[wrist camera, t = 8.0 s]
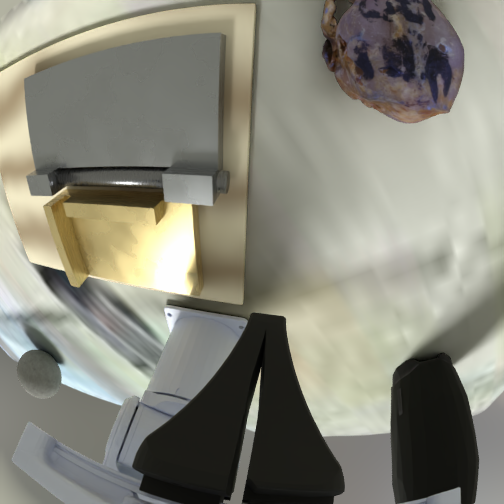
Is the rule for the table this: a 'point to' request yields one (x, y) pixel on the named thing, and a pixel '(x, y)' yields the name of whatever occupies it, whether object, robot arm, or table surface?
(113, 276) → the loose leaf
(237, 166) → the board
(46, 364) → the decorative ball
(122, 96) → the fixed leaf
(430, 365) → the portable speaker
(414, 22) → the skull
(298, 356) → the table surface
